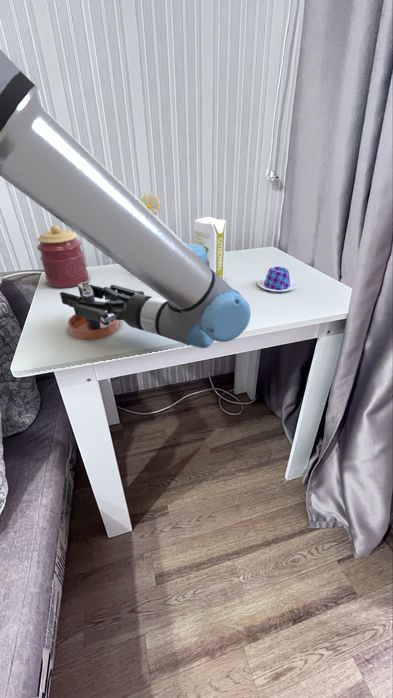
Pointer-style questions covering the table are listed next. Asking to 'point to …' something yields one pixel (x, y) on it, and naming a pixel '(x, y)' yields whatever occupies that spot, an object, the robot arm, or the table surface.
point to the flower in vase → (151, 203)
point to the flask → (88, 295)
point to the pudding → (277, 280)
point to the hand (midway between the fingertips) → (72, 292)
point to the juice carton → (212, 242)
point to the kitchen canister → (62, 258)
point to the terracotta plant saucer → (82, 329)
